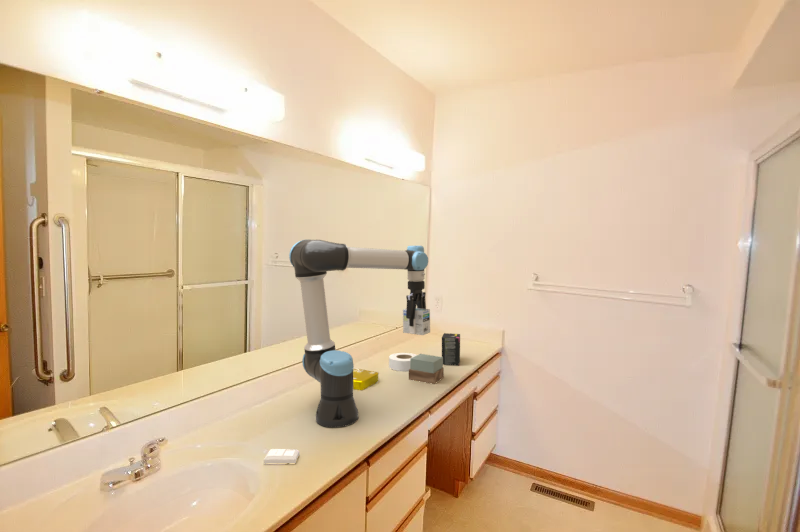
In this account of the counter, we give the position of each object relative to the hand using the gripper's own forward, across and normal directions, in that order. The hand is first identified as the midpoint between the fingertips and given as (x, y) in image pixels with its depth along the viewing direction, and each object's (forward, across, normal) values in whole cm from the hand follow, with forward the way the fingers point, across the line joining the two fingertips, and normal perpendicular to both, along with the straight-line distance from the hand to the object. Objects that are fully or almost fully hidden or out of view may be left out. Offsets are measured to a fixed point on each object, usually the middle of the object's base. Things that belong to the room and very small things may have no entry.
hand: (416, 331), depth 181 cm
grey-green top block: (+19, +9, 0) cm, 22 cm away
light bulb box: (+1, 0, 0) cm, 1 cm away
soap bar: (+23, -77, +3) cm, 80 cm away
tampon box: (+25, +38, 0) cm, 46 cm away
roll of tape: (+25, +19, +18) cm, 36 cm away
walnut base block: (+24, +9, 0) cm, 26 cm away
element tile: (+24, -13, +24) cm, 36 cm away
